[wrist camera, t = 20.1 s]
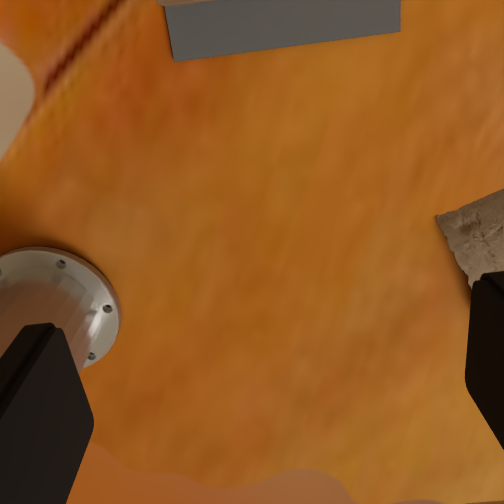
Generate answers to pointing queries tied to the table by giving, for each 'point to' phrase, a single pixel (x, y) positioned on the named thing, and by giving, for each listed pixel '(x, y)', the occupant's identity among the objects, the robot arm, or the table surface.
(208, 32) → the mat
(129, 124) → the table surface
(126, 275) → the table surface
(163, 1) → the brown piece
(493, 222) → the clay tablet
